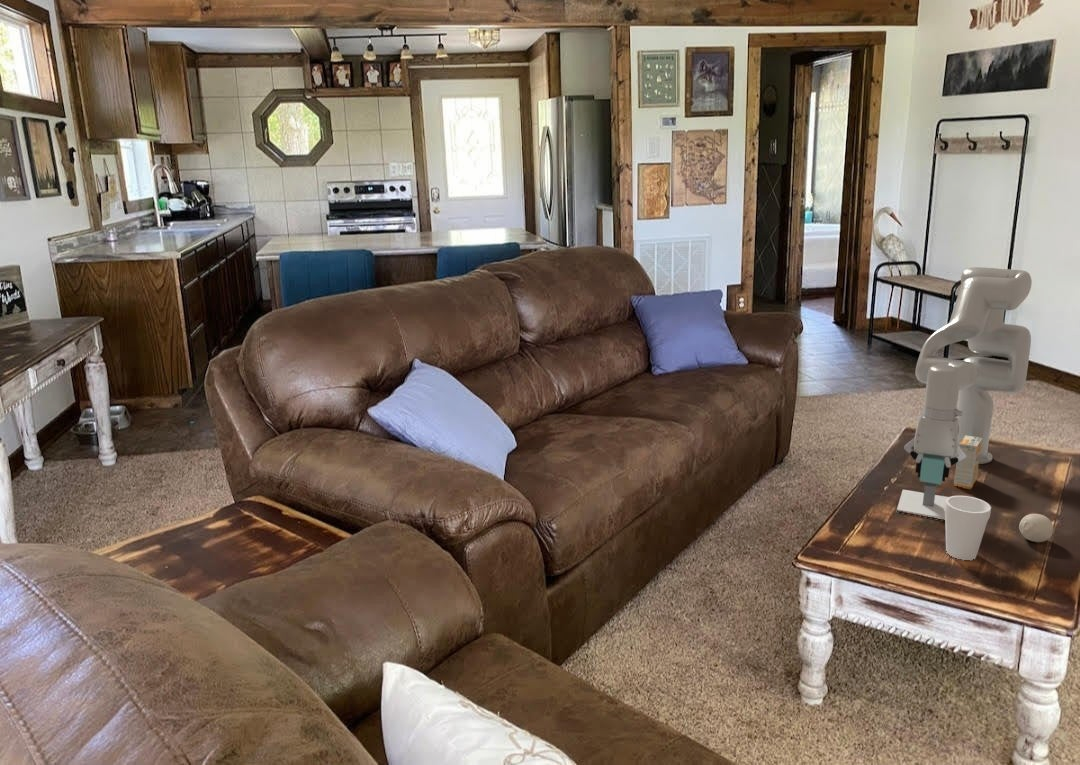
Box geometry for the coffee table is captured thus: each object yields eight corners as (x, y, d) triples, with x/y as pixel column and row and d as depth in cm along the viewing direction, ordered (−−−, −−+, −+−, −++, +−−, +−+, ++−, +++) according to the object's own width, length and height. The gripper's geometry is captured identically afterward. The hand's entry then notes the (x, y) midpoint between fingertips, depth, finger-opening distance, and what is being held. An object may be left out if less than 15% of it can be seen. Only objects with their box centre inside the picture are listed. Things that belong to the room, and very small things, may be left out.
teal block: (921, 474, 212) (924, 451, 210) (942, 477, 210) (945, 454, 208) (919, 481, 208) (922, 457, 206) (941, 484, 205) (944, 461, 204)
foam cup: (944, 540, 193) (951, 492, 190) (987, 551, 188) (994, 501, 184) (934, 556, 186) (941, 506, 183) (978, 568, 181) (985, 516, 177)
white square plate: (902, 492, 220) (904, 470, 219) (958, 501, 214) (961, 479, 212) (896, 512, 209) (899, 489, 207) (955, 522, 202) (958, 499, 200)
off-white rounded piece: (1010, 537, 194) (1013, 512, 192) (1031, 531, 197) (1035, 507, 195) (1035, 549, 188) (1039, 524, 186) (1057, 543, 190) (1061, 518, 189)
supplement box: (972, 490, 220) (978, 446, 217) (953, 486, 223) (958, 443, 219) (977, 480, 227) (983, 437, 223) (958, 476, 229) (964, 434, 226)
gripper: (977, 412, 203) (968, 478, 208) (905, 404, 211) (898, 467, 216) (976, 421, 196) (967, 488, 202) (901, 412, 205) (894, 476, 210)
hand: (931, 476), depth 209 cm, fingers closed on teal block, 5 cm apart
